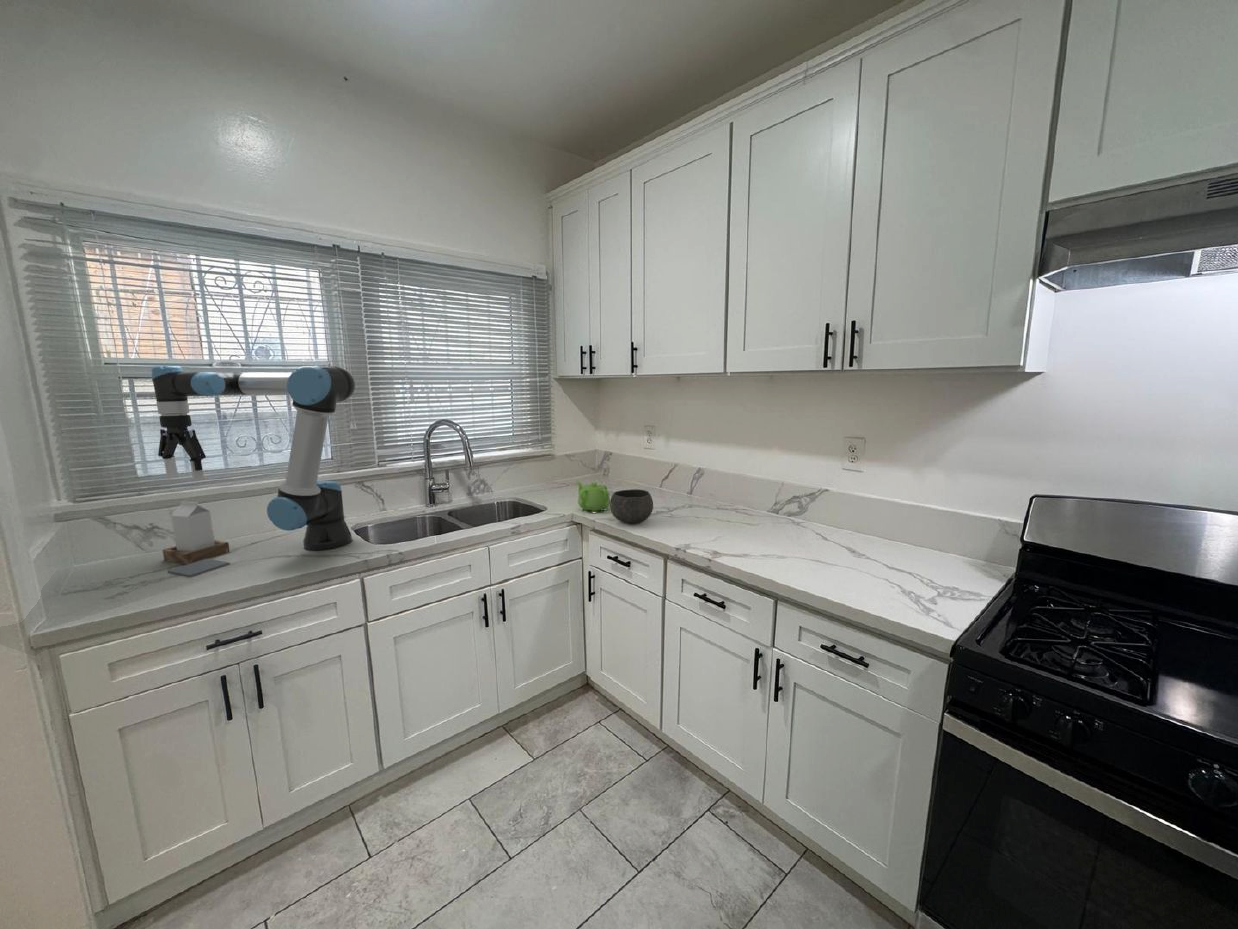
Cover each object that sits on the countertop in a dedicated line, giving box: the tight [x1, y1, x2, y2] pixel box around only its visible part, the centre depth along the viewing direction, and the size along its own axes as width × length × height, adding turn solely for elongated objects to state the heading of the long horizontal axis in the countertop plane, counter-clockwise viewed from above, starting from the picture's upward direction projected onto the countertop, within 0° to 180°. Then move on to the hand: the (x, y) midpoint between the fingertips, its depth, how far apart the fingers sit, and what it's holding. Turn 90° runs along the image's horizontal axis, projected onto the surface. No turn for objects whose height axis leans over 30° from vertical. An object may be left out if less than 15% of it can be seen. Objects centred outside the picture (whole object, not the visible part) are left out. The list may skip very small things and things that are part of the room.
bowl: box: [609, 488, 654, 525], centre depth 200 cm, size 18×18×13 cm
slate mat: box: [167, 558, 230, 578], centre depth 154 cm, size 11×11×1 cm
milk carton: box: [170, 500, 216, 553], centre depth 163 cm, size 7×7×19 cm
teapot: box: [575, 480, 611, 513], centre depth 219 cm, size 16×14×13 cm
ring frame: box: [162, 539, 231, 565], centre depth 165 cm, size 12×12×4 cm
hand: (185, 479), depth 161 cm, fingers open, 13 cm apart
